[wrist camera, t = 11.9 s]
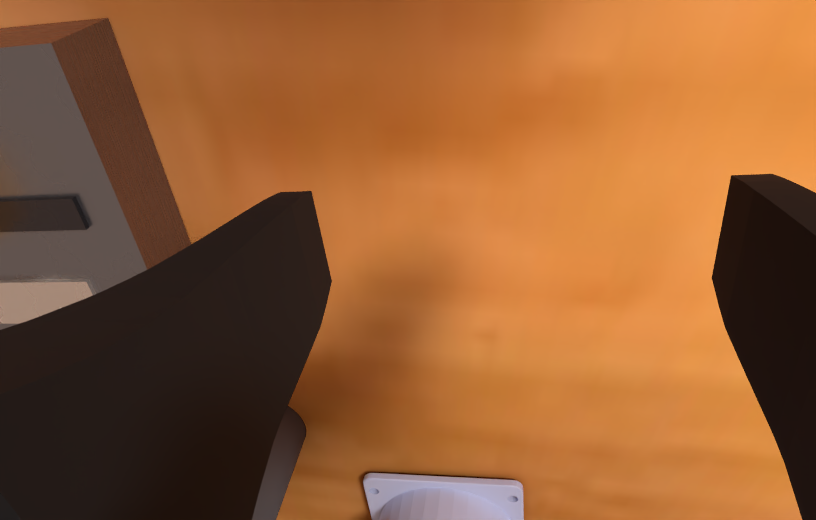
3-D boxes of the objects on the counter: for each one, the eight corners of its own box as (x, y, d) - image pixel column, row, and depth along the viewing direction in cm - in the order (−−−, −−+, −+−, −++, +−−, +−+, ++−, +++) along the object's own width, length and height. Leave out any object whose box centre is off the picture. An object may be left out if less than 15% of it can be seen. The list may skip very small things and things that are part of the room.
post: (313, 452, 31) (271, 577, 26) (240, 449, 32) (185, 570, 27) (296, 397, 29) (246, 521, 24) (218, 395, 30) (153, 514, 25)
